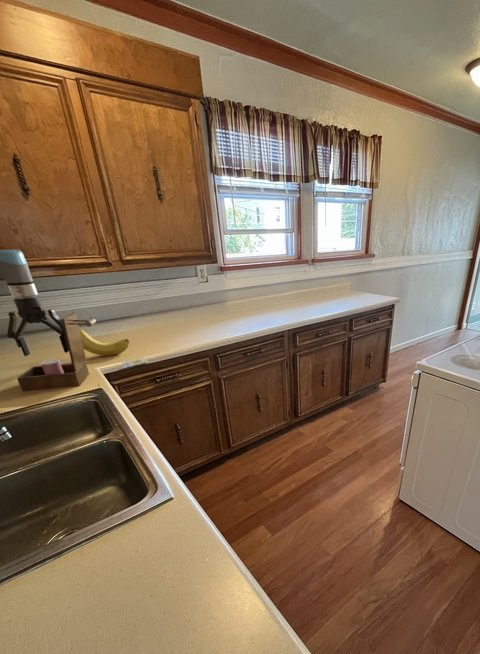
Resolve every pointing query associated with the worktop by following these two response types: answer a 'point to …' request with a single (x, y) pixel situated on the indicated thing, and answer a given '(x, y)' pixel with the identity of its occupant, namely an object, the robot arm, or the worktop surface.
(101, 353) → the banana
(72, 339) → the lid
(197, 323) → the worktop surface
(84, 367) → the brown wooden box
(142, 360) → the baking ingredient package
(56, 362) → the liner stack
